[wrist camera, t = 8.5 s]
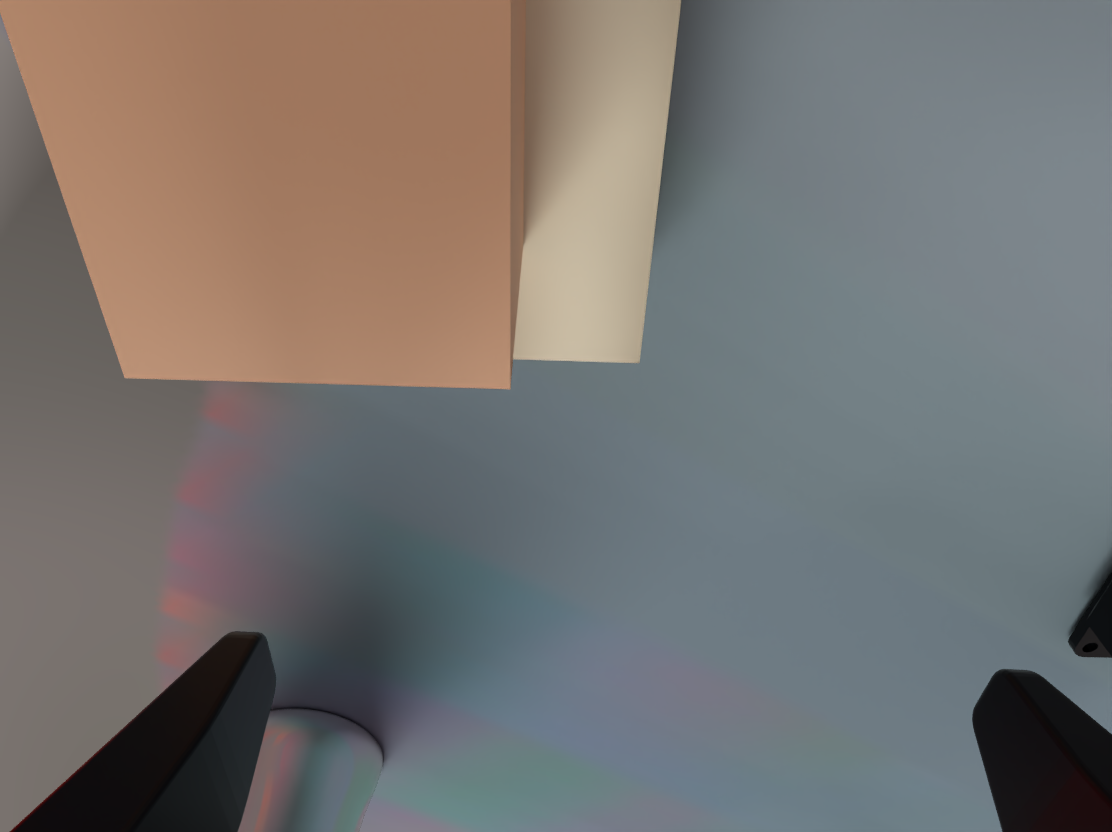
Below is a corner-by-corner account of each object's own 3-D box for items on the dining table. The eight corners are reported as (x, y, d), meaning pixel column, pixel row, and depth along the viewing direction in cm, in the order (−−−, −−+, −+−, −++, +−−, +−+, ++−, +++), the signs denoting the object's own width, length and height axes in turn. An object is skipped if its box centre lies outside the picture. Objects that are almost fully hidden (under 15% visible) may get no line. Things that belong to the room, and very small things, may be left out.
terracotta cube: (527, -75, 11) (511, -64, 7) (523, 245, 14) (510, 388, 10) (187, -89, 11) (-34, -87, 7) (253, 237, 14) (125, 378, 10)
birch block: (675, -248, 13) (716, -301, 10) (624, 282, 19) (638, 363, 15) (94, -277, 13) (-66, -341, 9) (221, 268, 18) (148, 348, 15)
